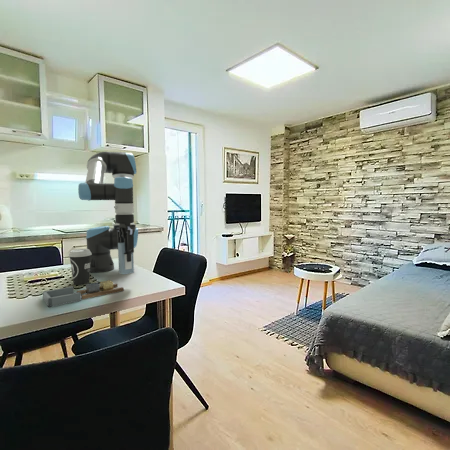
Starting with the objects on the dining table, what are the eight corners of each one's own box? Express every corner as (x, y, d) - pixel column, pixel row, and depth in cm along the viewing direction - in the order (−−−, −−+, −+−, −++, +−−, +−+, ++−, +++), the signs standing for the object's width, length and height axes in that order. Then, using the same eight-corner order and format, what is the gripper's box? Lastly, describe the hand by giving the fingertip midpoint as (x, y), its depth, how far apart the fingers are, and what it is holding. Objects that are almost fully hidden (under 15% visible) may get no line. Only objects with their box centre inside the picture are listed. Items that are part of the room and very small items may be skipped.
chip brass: (100, 291, 122) (99, 281, 122) (109, 289, 125) (109, 280, 125) (103, 293, 119) (103, 283, 119) (113, 291, 122) (113, 282, 122)
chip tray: (42, 299, 112) (42, 291, 112) (73, 293, 119) (72, 286, 119) (48, 307, 104) (48, 298, 103) (80, 300, 110) (80, 292, 110)
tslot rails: (76, 293, 118) (76, 290, 118) (116, 286, 129) (116, 283, 129) (82, 299, 112) (82, 296, 112) (123, 290, 123) (123, 287, 122)
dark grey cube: (86, 293, 119) (85, 284, 118) (96, 291, 121) (96, 282, 121) (89, 296, 116) (88, 286, 115) (99, 294, 118) (99, 284, 118)
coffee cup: (83, 286, 129) (82, 252, 127) (64, 285, 131) (63, 251, 129) (97, 280, 138) (96, 249, 137) (79, 279, 140) (78, 248, 139)
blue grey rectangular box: (118, 272, 127) (117, 242, 126) (130, 271, 130) (129, 241, 129) (122, 274, 124) (121, 243, 123) (133, 272, 127) (132, 242, 126)
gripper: (108, 213, 129) (110, 266, 131) (123, 214, 116) (125, 272, 118) (125, 213, 134) (126, 263, 136) (141, 214, 121) (143, 270, 123)
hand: (126, 267), depth 127 cm, fingers closed on blue grey rectangular box, 4 cm apart
